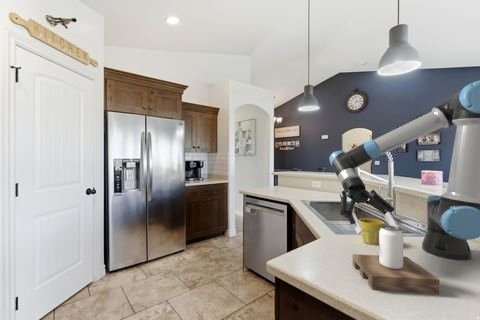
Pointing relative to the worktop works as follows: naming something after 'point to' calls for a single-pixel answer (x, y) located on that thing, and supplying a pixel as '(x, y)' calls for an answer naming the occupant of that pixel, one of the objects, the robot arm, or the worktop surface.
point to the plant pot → (370, 230)
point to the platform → (395, 275)
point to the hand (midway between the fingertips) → (378, 231)
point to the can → (391, 247)
